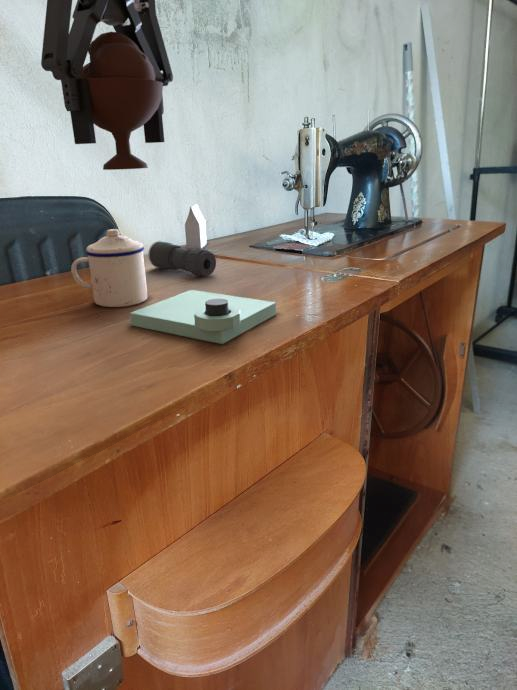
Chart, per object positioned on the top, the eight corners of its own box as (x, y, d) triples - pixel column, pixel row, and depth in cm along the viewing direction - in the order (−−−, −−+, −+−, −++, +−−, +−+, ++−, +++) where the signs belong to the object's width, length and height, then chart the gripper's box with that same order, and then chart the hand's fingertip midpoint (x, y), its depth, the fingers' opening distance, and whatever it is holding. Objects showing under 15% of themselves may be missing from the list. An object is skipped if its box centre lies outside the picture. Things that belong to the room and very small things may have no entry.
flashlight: (219, 274, 102) (218, 247, 100) (199, 280, 98) (197, 251, 96) (169, 264, 111) (167, 239, 109) (149, 269, 108) (146, 243, 106)
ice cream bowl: (65, 170, 65) (44, 33, 60) (146, 166, 71) (133, 42, 66) (99, 171, 57) (78, 13, 52) (186, 166, 64) (175, 26, 58)
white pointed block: (206, 243, 134) (204, 204, 131) (201, 248, 128) (198, 207, 125) (192, 243, 135) (190, 204, 131) (186, 248, 129) (183, 207, 125)
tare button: (201, 316, 67) (200, 303, 66) (214, 309, 69) (214, 297, 69) (220, 319, 66) (219, 306, 65) (233, 313, 68) (232, 300, 67)
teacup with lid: (153, 292, 91) (146, 224, 86) (143, 307, 82) (135, 233, 78) (84, 294, 90) (74, 226, 86) (68, 309, 82) (55, 235, 78)
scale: (126, 327, 73) (123, 303, 72) (191, 300, 85) (190, 280, 84) (224, 348, 65) (222, 321, 64) (281, 315, 77) (281, 292, 75)
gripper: (147, -42, 66) (164, 142, 74) (-28, -108, 48) (19, 145, 56) (192, -55, 62) (205, 141, 70) (20, -133, 44) (63, 143, 52)
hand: (122, 143), depth 63 cm, fingers closed on ice cream bowl, 11 cm apart
